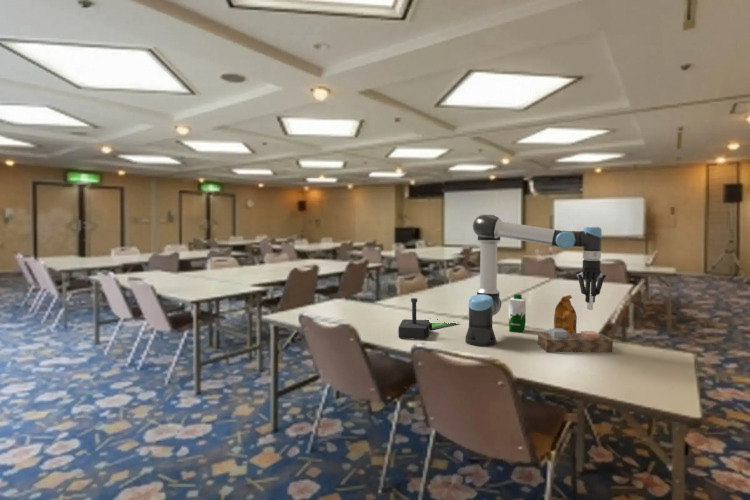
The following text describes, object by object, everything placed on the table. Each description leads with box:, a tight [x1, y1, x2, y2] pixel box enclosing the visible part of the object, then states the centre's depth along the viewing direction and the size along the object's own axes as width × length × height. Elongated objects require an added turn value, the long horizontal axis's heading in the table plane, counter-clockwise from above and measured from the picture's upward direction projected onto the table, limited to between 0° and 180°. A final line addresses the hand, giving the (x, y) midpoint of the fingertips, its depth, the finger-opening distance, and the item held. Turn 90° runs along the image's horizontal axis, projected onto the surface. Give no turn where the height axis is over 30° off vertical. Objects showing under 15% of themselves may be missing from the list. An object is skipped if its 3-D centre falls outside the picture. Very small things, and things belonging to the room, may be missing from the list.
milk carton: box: [508, 293, 527, 334], centre depth 234 cm, size 9×9×20 cm
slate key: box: [548, 327, 567, 338], centre depth 200 cm, size 6×6×5 cm
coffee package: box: [553, 294, 578, 333], centre depth 219 cm, size 10×12×22 cm
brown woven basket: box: [537, 332, 614, 353], centre depth 200 cm, size 30×12×6 cm, turn 87°
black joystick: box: [397, 297, 433, 340], centre depth 229 cm, size 19×17×20 cm
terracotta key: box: [580, 330, 600, 338], centre depth 200 cm, size 6×6×5 cm
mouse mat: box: [431, 319, 458, 331], centre depth 254 cm, size 27×22×1 cm
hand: (589, 309), depth 199 cm, fingers closed
